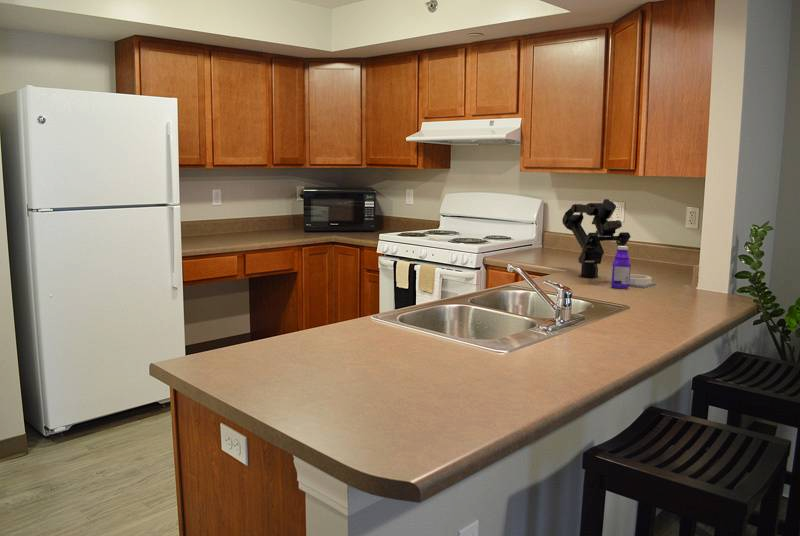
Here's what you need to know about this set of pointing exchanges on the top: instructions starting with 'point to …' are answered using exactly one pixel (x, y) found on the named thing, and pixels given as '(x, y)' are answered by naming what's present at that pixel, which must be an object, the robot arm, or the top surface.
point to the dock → (640, 281)
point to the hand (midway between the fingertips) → (613, 254)
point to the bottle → (621, 268)
